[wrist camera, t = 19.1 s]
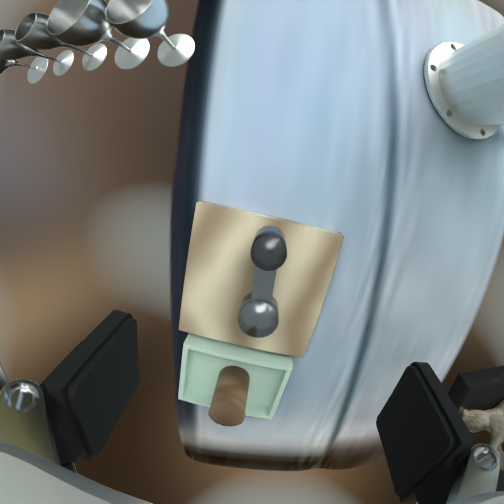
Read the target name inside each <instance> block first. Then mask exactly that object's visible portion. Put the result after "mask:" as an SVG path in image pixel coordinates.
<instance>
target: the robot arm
mask: <svg viewBox="0 0 504 504" xmlns="http://www.w3.org/2000/svg"><path fill="white" fill-rule="evenodd" d="M424 78H425V83H426V88H427V90H428V93H429V96H430V99H431V101H432V103H433V105H434V107H435V108H436V110H437V111H438V113H439V114H440V116H441V117H442V118H443V120H444V121H445V122H446V123H447V124H448V125H449V126H450V127H451V128H452V129H453V130H454V131H456V132H457V133H459V134H460V135H462V136H464V137H466V138H469V139H475V140H477V139H485V138H489V137H490V136H492V135H493V134H494V133H495V132H496V131H497V130H498V128H499V126H500V125H504V24H503V25H501V26H499V27H497V28H495V29H493V30H491V31H489V32H487V33H485V34H483V35H481V36H479V37H478V38H476V39H474V40H472V41H470V42H468V43H467V44H465V45H462V44H459V43H456V42H442V43H440V44H438V45H436V46H435V47H434V48H432V49H431V50H430V52H429V53H428V54H427V57H426V60H425V65H424ZM138 384H139V368H138V349H137V322H136V320H135V319H133V318H132V315H131V314H130V313H126V312H122V311H119V310H114V311H112V312H111V313H110V315H108V316H107V317H106V318H105V319H104V320H103V321H102V322H101V323H100V324H99V325H98V326H97V327H96V328H95V329H94V330H93V331H92V332H91V333H90V334H89V335H88V336H87V337H86V338H85V339H84V340H83V341H82V342H80V343H79V345H77V346H76V347H75V348H74V350H72V351H71V352H70V354H69V355H68V356H67V357H66V358H65V359H64V360H63V361H62V362H61V363H60V364H59V365H58V366H57V367H56V368H55V369H54V370H53V371H52V373H50V374H49V376H48V377H47V378H46V379H45V380H44V381H43V382H42V383H41V384H40V385H38V384H36V383H35V382H34V381H31V380H28V379H17V380H13V381H11V382H9V383H8V384H6V385H5V386H4V387H3V389H2V391H1V393H0V504H153V503H150V502H146V501H143V500H141V499H137V498H135V497H132V496H129V495H126V494H124V493H121V492H118V491H116V490H113V489H111V488H108V487H106V486H103V485H101V484H99V483H97V482H94V481H92V480H90V479H88V478H86V477H83V476H81V475H79V474H77V472H76V468H75V465H74V462H75V461H76V460H77V458H78V456H79V457H81V458H83V459H85V460H87V461H90V460H91V458H92V457H93V455H94V456H98V455H99V454H100V452H101V450H102V448H103V447H104V445H105V443H106V441H107V439H108V438H109V436H110V434H111V432H112V431H113V429H114V427H115V425H116V424H117V422H118V420H119V418H120V417H121V415H122V413H123V411H124V410H125V408H126V406H127V404H128V402H129V401H130V399H131V398H132V396H133V394H134V392H135V391H136V389H137V387H138ZM376 425H377V429H378V432H379V435H380V439H381V442H382V446H383V449H384V452H385V456H386V459H387V463H388V467H389V470H390V474H391V478H392V481H393V485H394V489H395V493H396V494H397V495H398V496H399V498H400V502H405V501H410V500H413V499H415V498H416V499H417V503H416V504H504V471H503V470H501V469H500V458H499V455H498V454H497V452H496V451H495V450H494V449H493V448H492V447H490V446H488V445H485V444H478V445H476V446H474V447H473V448H472V449H470V447H469V446H470V445H471V444H472V443H473V442H474V439H473V437H472V435H471V433H470V431H469V430H468V428H467V426H466V424H465V422H464V421H463V419H462V417H461V415H460V414H459V412H458V410H457V409H456V407H455V405H454V403H453V402H452V400H451V398H450V397H449V395H448V393H447V392H446V390H445V389H444V387H443V385H442V384H441V382H440V381H439V379H438V377H437V376H436V374H435V373H434V371H433V370H432V368H431V366H430V365H429V364H428V363H425V362H413V363H412V364H411V365H410V366H408V367H407V368H406V369H405V371H404V373H403V375H402V377H401V379H400V380H399V382H398V384H397V386H396V387H395V389H394V391H393V393H392V394H391V396H390V398H389V399H388V401H387V403H386V404H385V406H384V407H383V409H382V411H381V412H380V414H379V415H378V417H377V421H376Z"/></svg>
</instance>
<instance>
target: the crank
mask: <svg viewBox="0 0 504 504" xmlns="http://www.w3.org/2000/svg"><path fill="white" fill-rule="evenodd" d="M250 255H251V259H252V261H253V263H254V264H255V271H254V279H253V286H252V293H250V294H248V295H247V296H246V297H245V298H244V299H243V301H242V303H241V307H240V311H239V315H238V324H239V327H240V328H241V330H242V331H243V332H244V333H245V334H247V335H249V336H251V337H256V338H262V337H266V336H269V335H270V334H272V333H273V332H274V331H275V330H276V328H277V326H278V322H279V311H278V303H277V301H276V299H275V298H274V297H273V296H272V295H273V289H274V283H275V277H276V271H277V269H278V268H280V267H281V266H282V265H283V264H284V263H285V261H286V258H287V248H286V240H285V236H284V233H283V232H282V231H281V230H280V229H279V228H277V227H275V226H264V227H262V228H260V229H259V230H258V231H257V233H256V234H255V237H254V241H253V244H252V247H251V252H250Z"/></svg>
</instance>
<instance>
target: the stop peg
mask: <svg viewBox="0 0 504 504" xmlns="http://www.w3.org/2000/svg"><path fill="white" fill-rule="evenodd" d="M249 381H250V376H249V374H248V372H247V371H246V370H245V369H243V368H241V367H238V366H227V367H224V368H223V369H222V370H221V371H220V373H219V376H218V380H217V384H216V387H215V391H214V395H213V398H212V402H211V406H210V409H209V416H210V418H211V419H212V420H213V421H214V422H216V423H218V424H220V425H223V426H236V425H239V424H241V423H242V422H243V421H244V417H245V410H246V403H247V395H248V388H249Z"/></svg>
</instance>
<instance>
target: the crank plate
mask: <svg viewBox="0 0 504 504" xmlns="http://www.w3.org/2000/svg"><path fill="white" fill-rule="evenodd" d="M264 226H275V227H277V228H279V229H280V230H281V231H282V232H283V233H284V236H285V240H286V248H287V258H286V261H285V263H284V264H283V265H282V266H281V267H280V268H278V269H277V271H276V277H275V283H274V289H273V295H272V296H273V297H274V298H275V299H276V301H277V303H278V311H279V322H278V326H277V328H276V330H275V331H274V332H273V333H272V334H270V335H269V336H266V337H262V338H256V337H251V336H249V335H247V334H245V333H244V332H243V331H242V330H241V328H240V327H239V324H238V315H239V311H240V307H241V303H242V301H243V299H244V298H245V297H246V296H247V295H248V294H250V293H252V286H253V279H254V271H255V264H254V263H253V261H252V259H251V255H250V252H251V247H252V244H253V241H254V237H255V234H256V233H257V231H258V230H259V229H260V228H262V227H264ZM343 238H344V236H343V235H342V234H341V233H338V232H334V231H330V230H326V229H322V228H318V227H314V226H310V225H306V224H302V223H298V222H294V221H289V220H285V219H281V218H277V217H272V216H268V215H263V214H259V213H255V212H250V211H246V210H241V209H236V208H232V207H227V206H222V205H218V204H213V203H208V202H203V201H199V202H197V203H196V209H195V214H194V220H193V226H192V233H191V239H190V245H189V252H188V259H187V266H186V273H185V280H184V288H183V296H182V304H181V313H180V322H179V330H181V331H184V332H188V333H192V334H196V335H199V336H203V337H207V338H211V339H215V340H219V341H224V342H228V343H232V344H236V345H241V346H245V347H250V348H255V349H259V350H264V351H269V352H274V353H279V354H285V355H290V356H296V357H301V358H303V357H304V354H305V352H306V349H307V346H308V344H309V341H310V338H311V336H312V333H313V330H314V327H315V325H316V322H317V319H318V316H319V313H320V311H321V308H322V305H323V302H324V299H325V296H326V293H327V290H328V287H329V284H330V281H331V277H332V274H333V271H334V268H335V265H336V261H337V258H338V255H339V252H340V248H341V245H342V241H343Z"/></svg>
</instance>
